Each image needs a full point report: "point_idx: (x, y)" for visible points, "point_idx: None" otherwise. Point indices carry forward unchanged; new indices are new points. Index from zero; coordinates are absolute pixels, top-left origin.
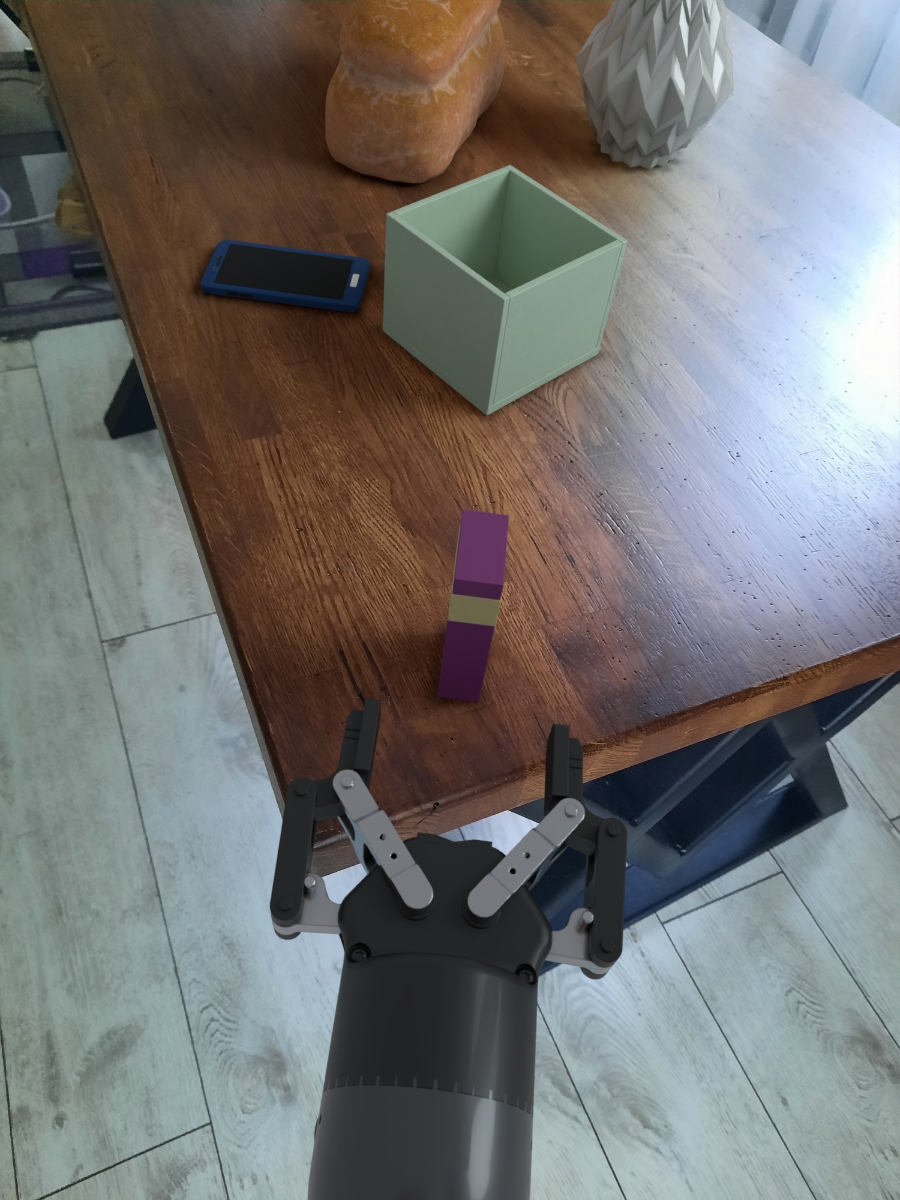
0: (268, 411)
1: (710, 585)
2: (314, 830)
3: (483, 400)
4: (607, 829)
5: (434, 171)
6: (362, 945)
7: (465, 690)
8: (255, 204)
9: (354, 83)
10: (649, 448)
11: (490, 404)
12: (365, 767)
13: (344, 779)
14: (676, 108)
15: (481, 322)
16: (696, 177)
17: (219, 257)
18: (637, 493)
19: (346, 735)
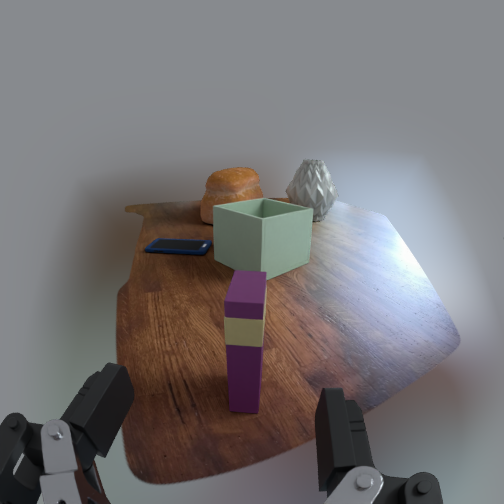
0: (158, 283)
1: (384, 338)
2: (40, 473)
3: None
4: (415, 488)
5: None
6: None
7: (247, 405)
8: (173, 232)
9: (209, 195)
10: (339, 289)
11: None
12: (80, 423)
13: (51, 427)
14: (321, 197)
15: (253, 235)
16: (332, 223)
17: (154, 242)
18: (338, 305)
19: (81, 392)
